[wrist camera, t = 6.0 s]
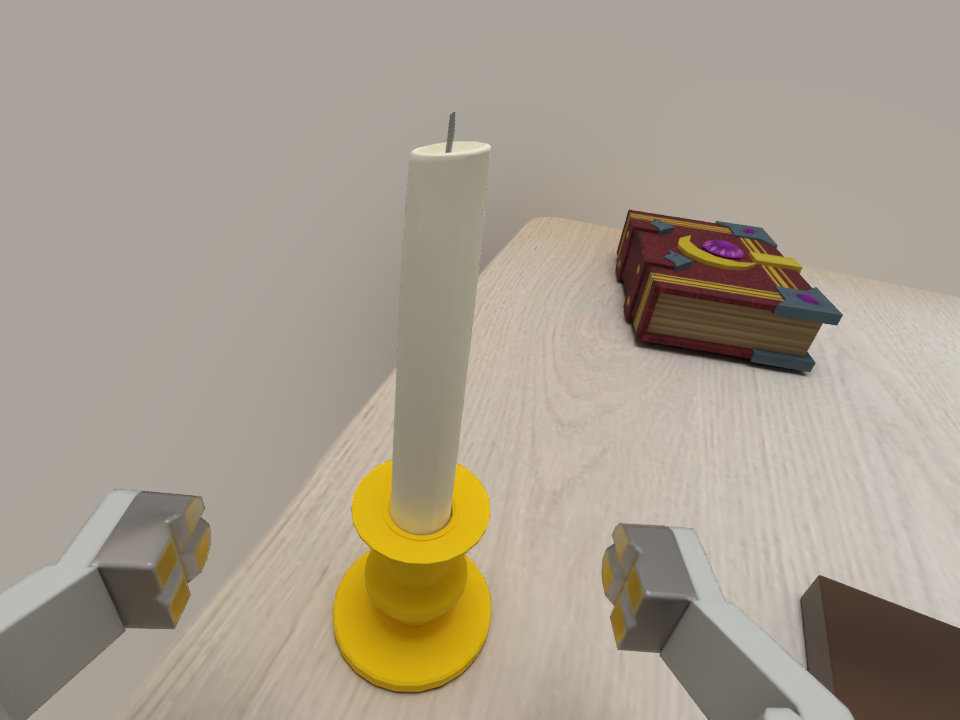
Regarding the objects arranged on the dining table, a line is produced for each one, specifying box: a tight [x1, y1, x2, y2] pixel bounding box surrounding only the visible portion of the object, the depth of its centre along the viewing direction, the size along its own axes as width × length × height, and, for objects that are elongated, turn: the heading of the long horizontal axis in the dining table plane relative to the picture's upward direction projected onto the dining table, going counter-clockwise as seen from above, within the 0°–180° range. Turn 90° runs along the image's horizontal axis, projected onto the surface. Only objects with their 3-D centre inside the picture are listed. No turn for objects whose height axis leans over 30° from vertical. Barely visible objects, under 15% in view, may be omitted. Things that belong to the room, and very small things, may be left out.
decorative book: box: [616, 210, 843, 372], centre depth 39 cm, size 11×16×5 cm
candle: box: [333, 112, 491, 692], centre depth 14 cm, size 5×5×16 cm
